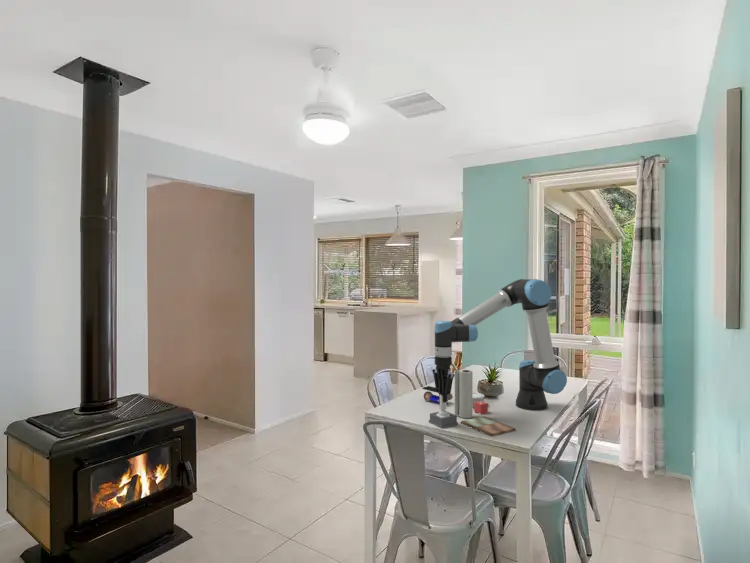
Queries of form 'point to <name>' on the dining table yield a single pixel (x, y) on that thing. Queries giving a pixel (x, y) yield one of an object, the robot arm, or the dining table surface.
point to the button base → (443, 420)
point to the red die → (481, 407)
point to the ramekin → (477, 398)
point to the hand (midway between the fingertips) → (443, 408)
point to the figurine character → (429, 396)
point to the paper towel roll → (463, 393)
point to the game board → (488, 426)
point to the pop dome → (443, 413)
